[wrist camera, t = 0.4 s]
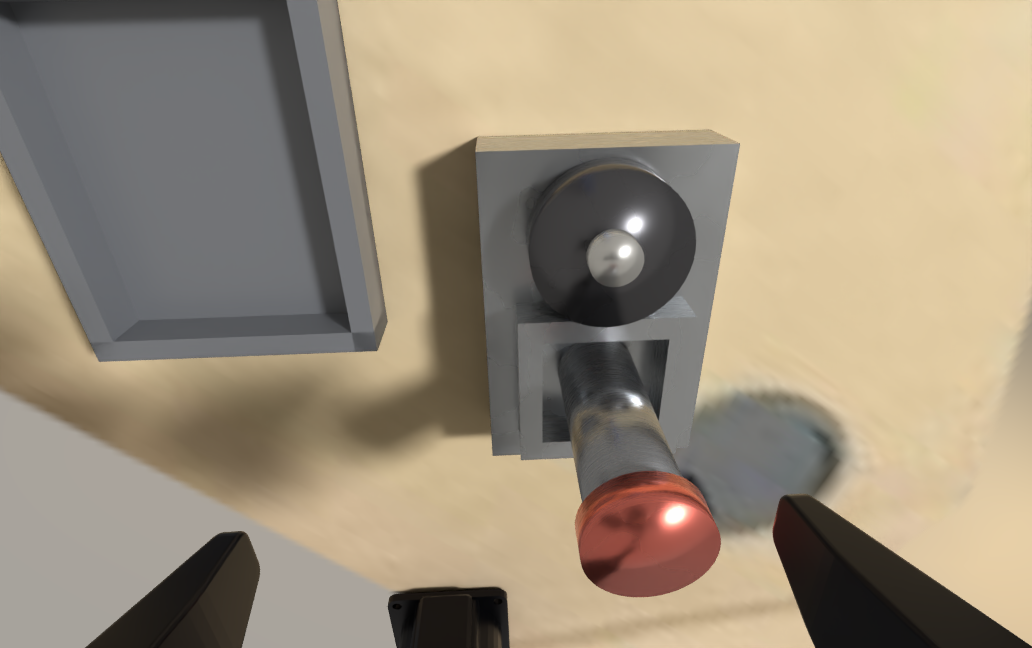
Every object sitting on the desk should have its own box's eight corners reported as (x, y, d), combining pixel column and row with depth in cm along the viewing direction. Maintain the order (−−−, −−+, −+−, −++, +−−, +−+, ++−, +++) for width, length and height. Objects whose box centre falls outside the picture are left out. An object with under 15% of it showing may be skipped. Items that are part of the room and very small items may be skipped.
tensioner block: (670, 409, 24) (706, 487, 20) (492, 416, 24) (492, 496, 20) (711, 129, 19) (772, 158, 14) (477, 136, 18) (472, 168, 14)
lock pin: (637, 404, 21) (709, 593, 14) (549, 408, 21) (578, 600, 14) (645, 328, 19) (731, 499, 12) (550, 331, 19) (583, 505, 12)
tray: (387, 322, 22) (377, 350, 20) (134, 331, 21) (98, 361, 19) (331, -37, 16) (308, -46, 14) (-17, -29, 16) (-88, -37, 14)
